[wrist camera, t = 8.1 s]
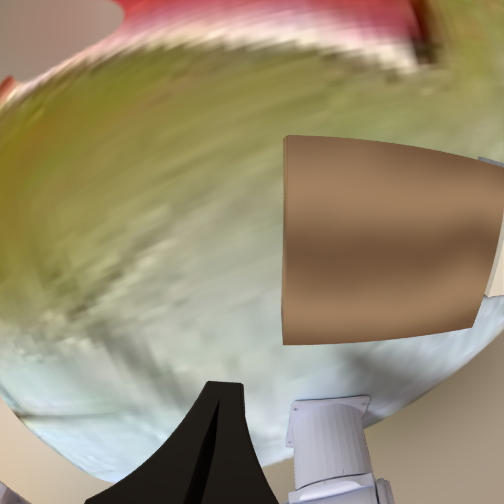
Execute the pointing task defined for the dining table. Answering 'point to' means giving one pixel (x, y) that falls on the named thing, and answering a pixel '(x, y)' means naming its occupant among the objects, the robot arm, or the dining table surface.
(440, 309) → the plate
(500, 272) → the cream rectangular block
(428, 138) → the dining table surface
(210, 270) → the dining table surface
